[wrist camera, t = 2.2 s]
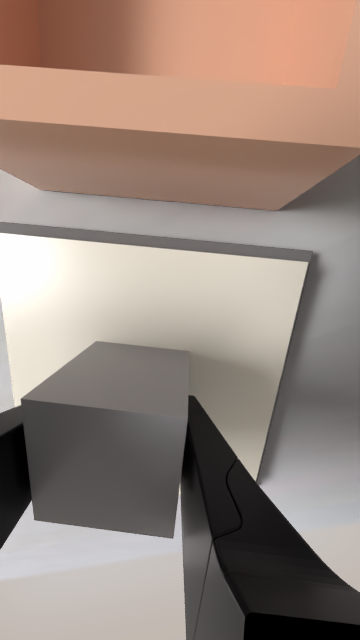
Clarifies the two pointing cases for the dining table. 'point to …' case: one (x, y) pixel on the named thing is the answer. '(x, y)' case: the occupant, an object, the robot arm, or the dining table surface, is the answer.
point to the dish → (180, 97)
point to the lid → (137, 368)
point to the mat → (167, 244)
